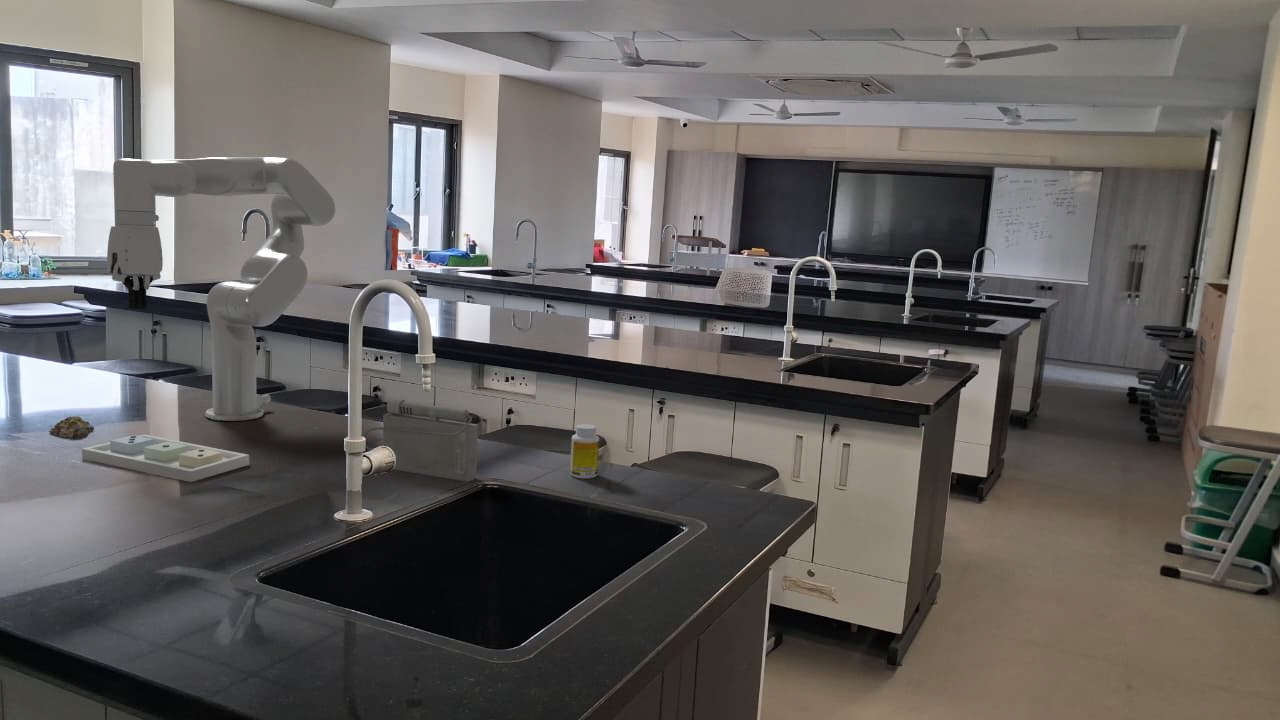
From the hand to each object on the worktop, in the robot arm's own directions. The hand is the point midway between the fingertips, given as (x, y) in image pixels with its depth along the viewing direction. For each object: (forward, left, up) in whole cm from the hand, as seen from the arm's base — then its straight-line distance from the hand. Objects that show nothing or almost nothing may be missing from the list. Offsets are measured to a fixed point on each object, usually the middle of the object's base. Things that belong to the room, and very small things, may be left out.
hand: (137, 308), depth 199 cm
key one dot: (+12, +21, -26) cm, 36 cm away
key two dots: (+12, +30, -26) cm, 41 cm away
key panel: (+12, +21, -27) cm, 36 cm away
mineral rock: (+7, -12, -28) cm, 31 cm away
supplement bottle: (-25, +93, -27) cm, 100 cm away
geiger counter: (-9, +64, -27) cm, 70 cm away
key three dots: (+12, +12, -26) cm, 31 cm away
